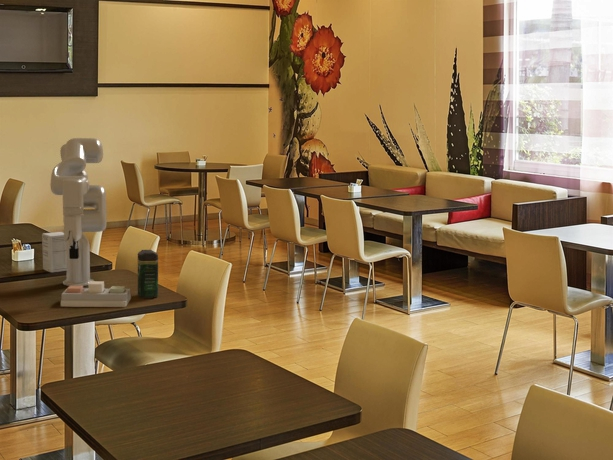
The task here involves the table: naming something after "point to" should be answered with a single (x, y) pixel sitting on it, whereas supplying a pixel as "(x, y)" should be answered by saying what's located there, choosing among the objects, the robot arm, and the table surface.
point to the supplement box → (54, 252)
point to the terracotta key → (75, 289)
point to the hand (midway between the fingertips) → (74, 258)
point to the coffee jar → (147, 274)
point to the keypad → (96, 299)
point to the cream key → (96, 287)
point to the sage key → (117, 289)
